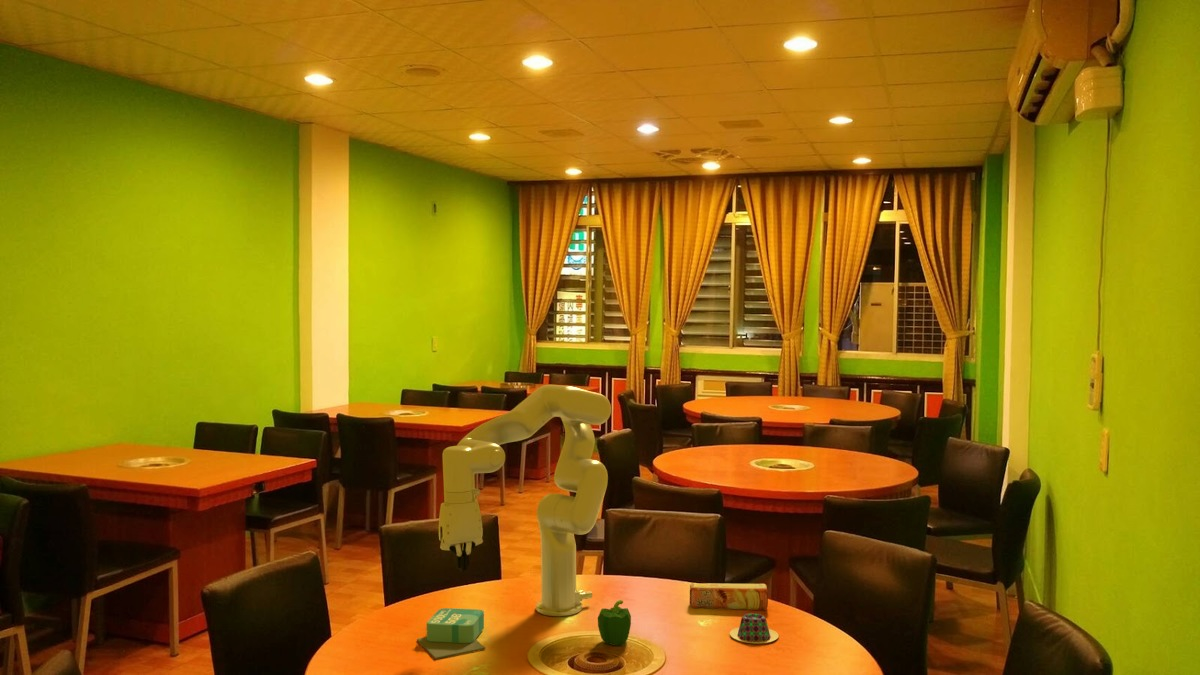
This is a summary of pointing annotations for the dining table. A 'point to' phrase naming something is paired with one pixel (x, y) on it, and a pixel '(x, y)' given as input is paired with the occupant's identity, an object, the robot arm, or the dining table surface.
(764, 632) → the pudding
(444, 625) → the teal square box
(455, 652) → the mat
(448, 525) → the robot arm
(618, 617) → the bell pepper
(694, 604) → the snack package
